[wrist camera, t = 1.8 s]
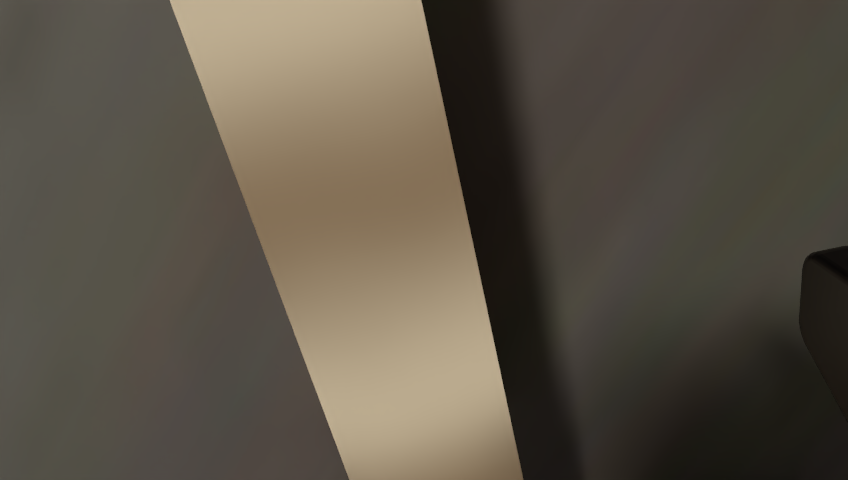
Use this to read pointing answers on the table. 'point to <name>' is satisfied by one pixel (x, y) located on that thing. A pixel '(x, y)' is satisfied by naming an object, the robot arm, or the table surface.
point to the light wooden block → (361, 225)
